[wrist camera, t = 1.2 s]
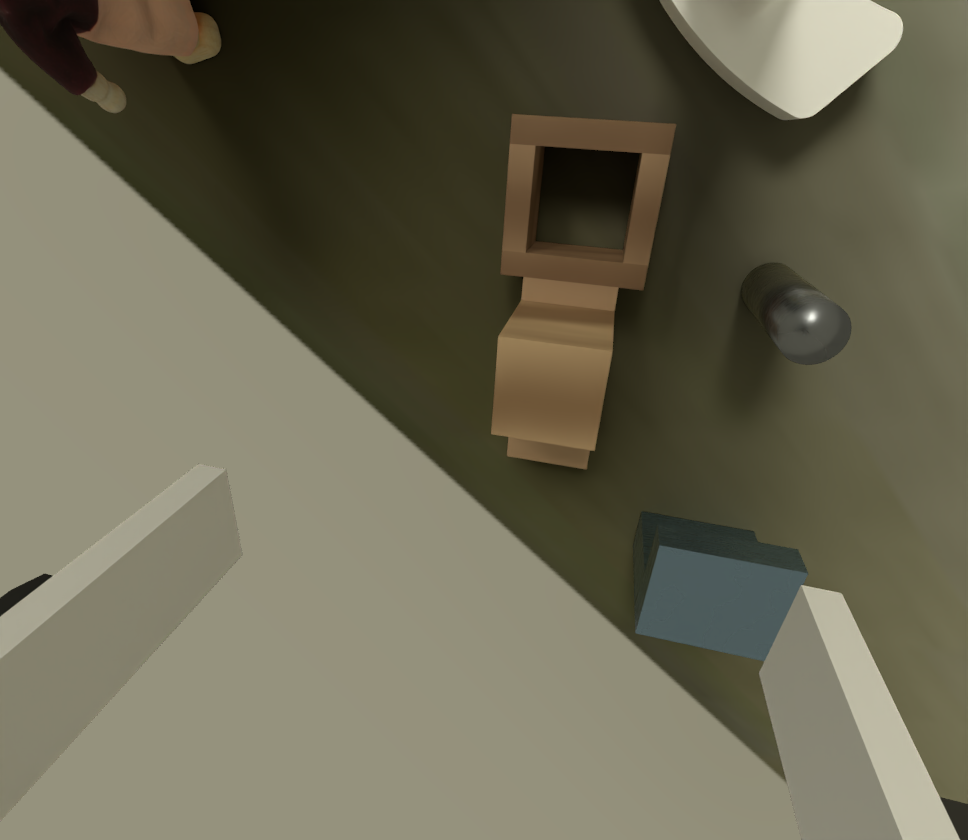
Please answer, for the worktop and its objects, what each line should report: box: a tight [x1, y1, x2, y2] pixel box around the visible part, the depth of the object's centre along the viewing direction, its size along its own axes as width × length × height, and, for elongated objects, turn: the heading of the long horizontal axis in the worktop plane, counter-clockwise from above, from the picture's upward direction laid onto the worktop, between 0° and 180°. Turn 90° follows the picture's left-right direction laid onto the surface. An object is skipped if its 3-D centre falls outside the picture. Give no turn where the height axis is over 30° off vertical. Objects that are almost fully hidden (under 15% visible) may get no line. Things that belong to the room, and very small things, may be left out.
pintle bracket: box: [633, 263, 851, 661], centre depth 24 cm, size 17×6×6 cm, turn 177°
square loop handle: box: [491, 114, 676, 470], centre depth 23 cm, size 15×6×8 cm, turn 177°
